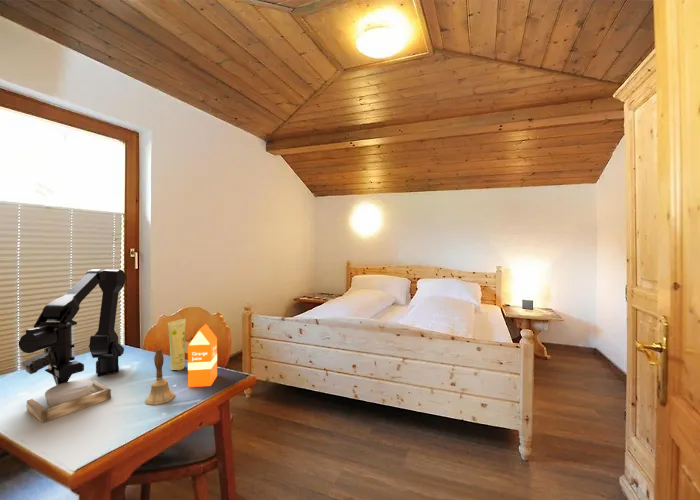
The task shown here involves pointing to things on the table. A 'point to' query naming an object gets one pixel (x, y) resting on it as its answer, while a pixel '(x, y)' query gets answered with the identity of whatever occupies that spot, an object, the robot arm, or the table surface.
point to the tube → (177, 343)
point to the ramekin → (68, 392)
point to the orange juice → (202, 358)
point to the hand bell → (159, 384)
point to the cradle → (69, 404)
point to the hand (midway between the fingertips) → (60, 390)
